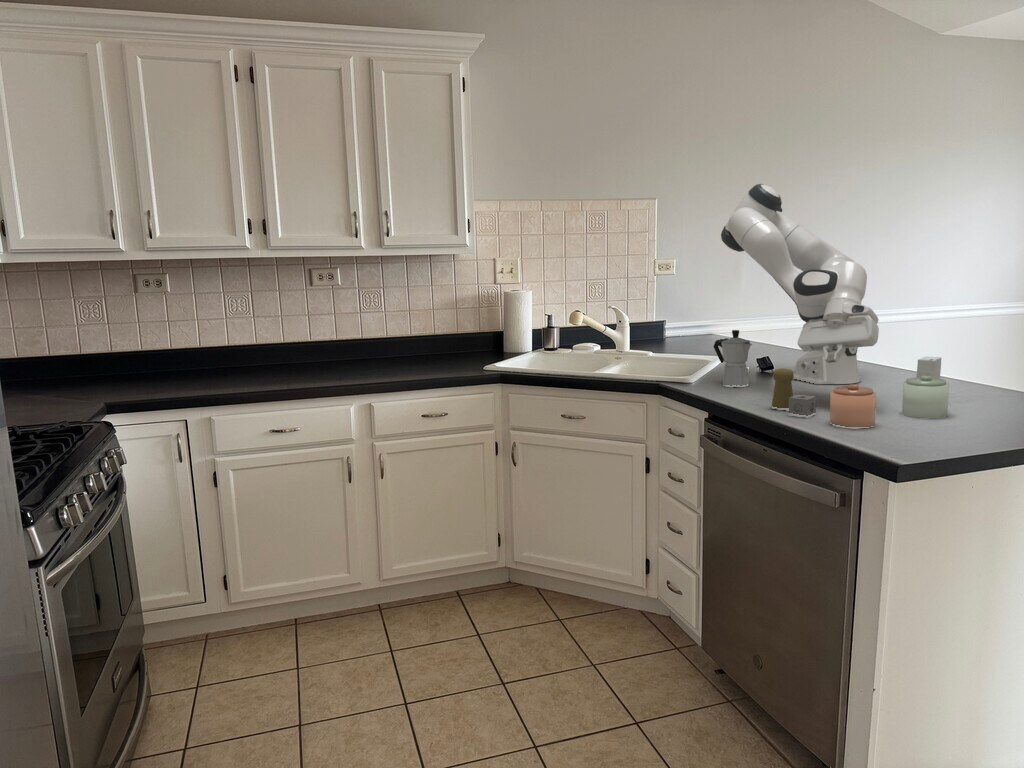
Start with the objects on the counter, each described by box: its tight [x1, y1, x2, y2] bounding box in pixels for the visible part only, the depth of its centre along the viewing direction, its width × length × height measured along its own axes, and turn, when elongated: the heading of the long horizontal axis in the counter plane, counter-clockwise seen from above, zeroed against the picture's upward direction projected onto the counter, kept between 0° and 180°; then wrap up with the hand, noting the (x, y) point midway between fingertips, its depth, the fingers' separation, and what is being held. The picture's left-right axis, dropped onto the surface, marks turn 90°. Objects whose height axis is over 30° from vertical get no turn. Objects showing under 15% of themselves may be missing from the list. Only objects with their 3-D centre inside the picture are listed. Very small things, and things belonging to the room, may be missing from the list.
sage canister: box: [901, 376, 950, 420], centre depth 182 cm, size 10×10×10 cm
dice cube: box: [787, 393, 817, 416], centre depth 187 cm, size 5×5×5 cm
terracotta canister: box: [829, 383, 877, 427], centre depth 175 cm, size 10×10×10 cm
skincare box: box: [916, 356, 942, 379], centre depth 195 cm, size 6×4×12 cm
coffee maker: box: [713, 329, 753, 386], centre depth 232 cm, size 15×9×18 cm, turn 34°
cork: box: [771, 368, 794, 408], centre depth 196 cm, size 6×6×11 cm
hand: (831, 361), depth 189 cm, fingers closed
